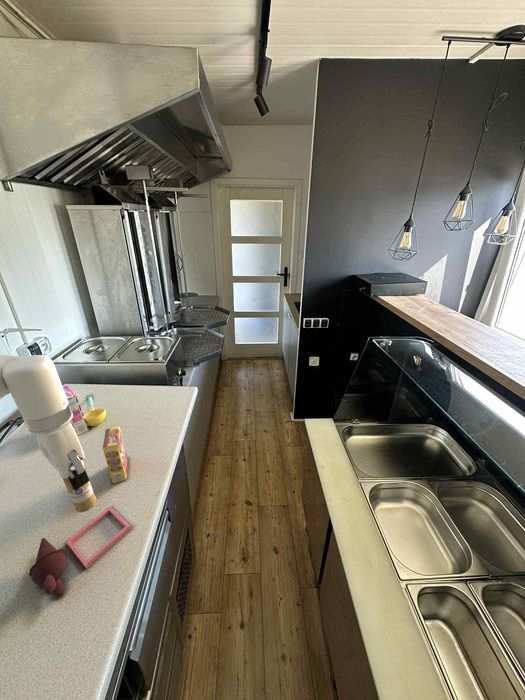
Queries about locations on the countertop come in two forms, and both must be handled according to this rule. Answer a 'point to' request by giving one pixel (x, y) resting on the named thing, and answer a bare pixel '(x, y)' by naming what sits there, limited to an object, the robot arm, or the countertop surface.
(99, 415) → the ladle
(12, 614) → the countertop surface
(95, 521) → the pink rectangular frame
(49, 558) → the icecream
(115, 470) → the candy box
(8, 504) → the countertop surface
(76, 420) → the candy bar box
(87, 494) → the sprinkles bottle
